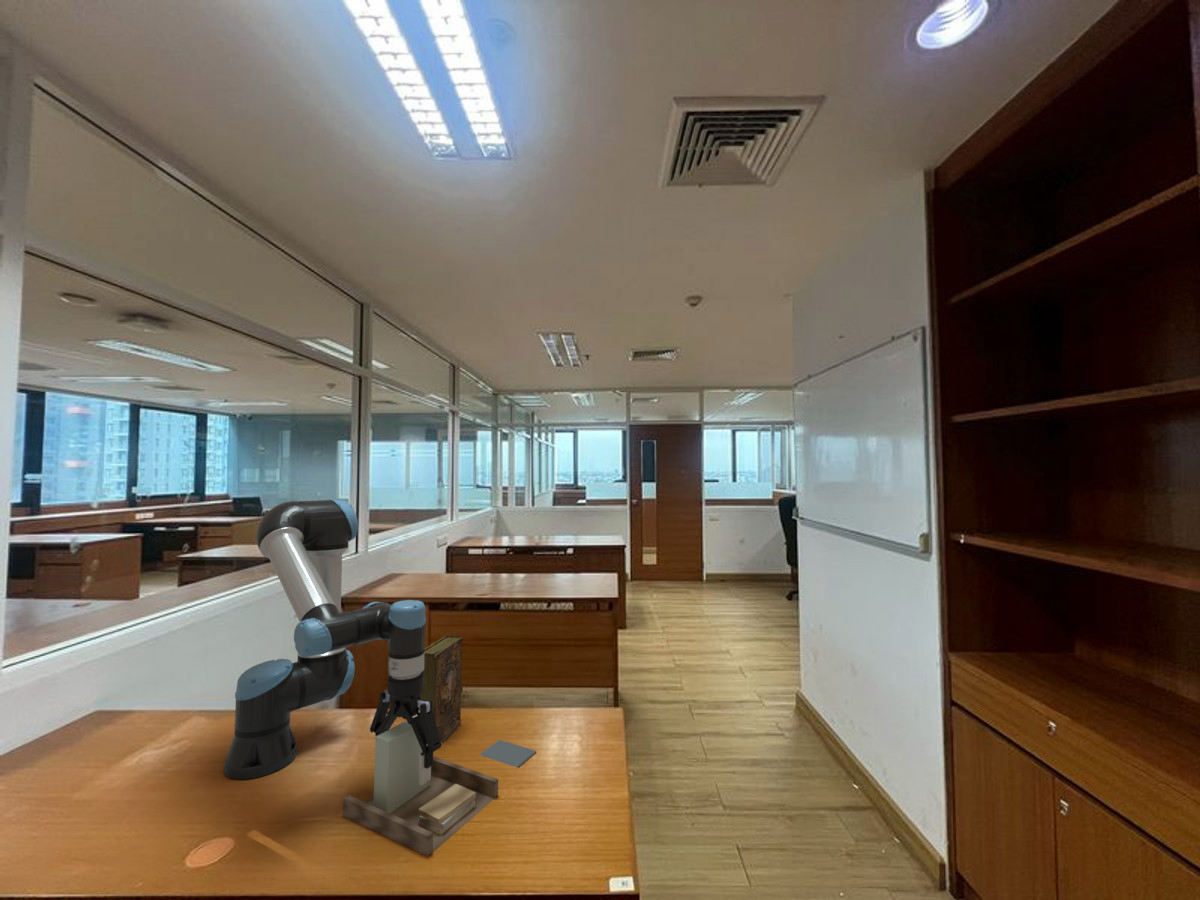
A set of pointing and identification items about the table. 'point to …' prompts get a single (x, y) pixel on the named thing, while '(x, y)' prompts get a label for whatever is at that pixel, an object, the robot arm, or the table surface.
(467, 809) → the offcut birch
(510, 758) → the mat
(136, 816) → the table surface
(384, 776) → the upright sage slab
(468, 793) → the offcut oak
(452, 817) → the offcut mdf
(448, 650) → the book
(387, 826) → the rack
